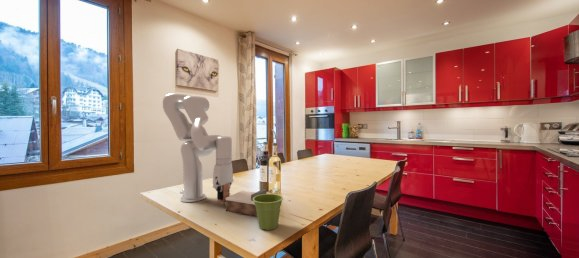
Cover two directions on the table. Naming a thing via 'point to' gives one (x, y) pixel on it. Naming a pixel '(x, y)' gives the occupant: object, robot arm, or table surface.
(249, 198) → the toolbox lid
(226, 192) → the salmon orange block
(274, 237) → the table surface
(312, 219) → the table surface
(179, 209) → the table surface
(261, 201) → the plant pot
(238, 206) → the toolbox
